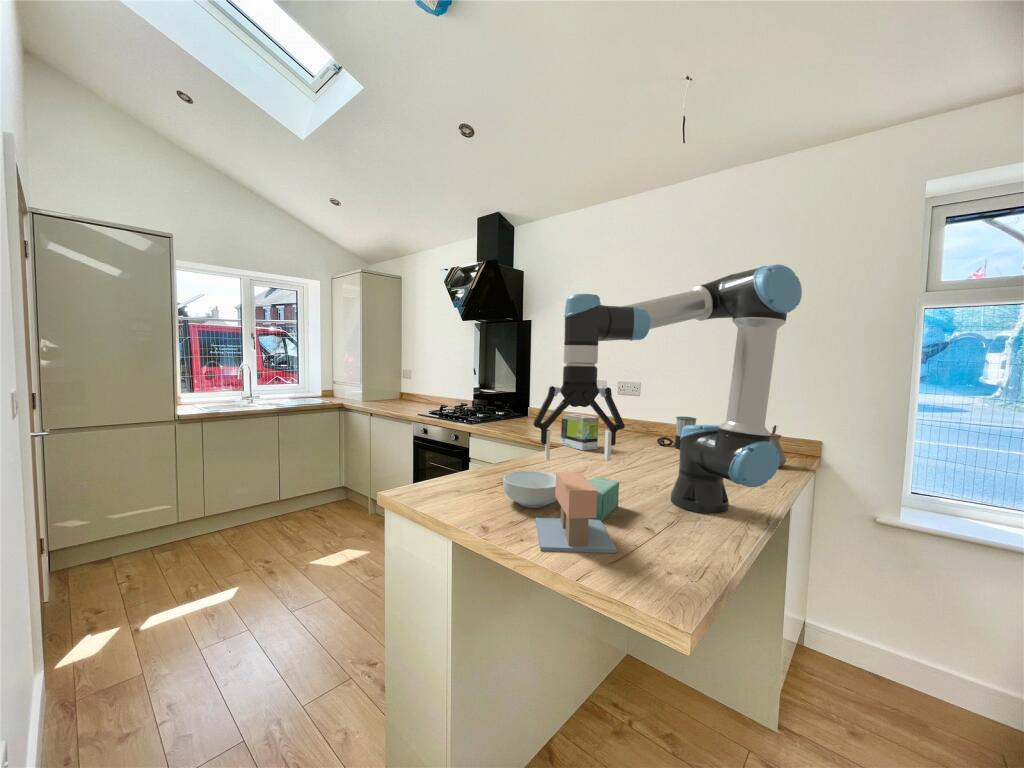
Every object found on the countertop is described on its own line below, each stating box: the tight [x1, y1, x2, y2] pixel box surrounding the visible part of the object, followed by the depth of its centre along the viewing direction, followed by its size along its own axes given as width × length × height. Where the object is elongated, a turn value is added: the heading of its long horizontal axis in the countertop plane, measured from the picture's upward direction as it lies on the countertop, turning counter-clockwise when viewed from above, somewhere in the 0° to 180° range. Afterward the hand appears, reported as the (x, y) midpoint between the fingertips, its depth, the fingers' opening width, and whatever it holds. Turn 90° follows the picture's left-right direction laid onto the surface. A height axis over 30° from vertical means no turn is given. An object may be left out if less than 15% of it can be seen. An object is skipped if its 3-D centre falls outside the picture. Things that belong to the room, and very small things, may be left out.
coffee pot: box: [770, 424, 787, 469], centre depth 174 cm, size 21×12×15 cm, turn 143°
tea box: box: [560, 413, 600, 451], centre depth 194 cm, size 15×10×15 cm
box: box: [588, 476, 620, 522], centre depth 112 cm, size 7×14×8 cm, turn 148°
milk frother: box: [656, 416, 697, 450], centre depth 202 cm, size 14×16×15 cm
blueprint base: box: [535, 506, 618, 554], centre depth 95 cm, size 16×16×7 cm
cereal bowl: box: [502, 470, 558, 509], centre depth 116 cm, size 17×17×7 cm
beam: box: [555, 471, 598, 519], centre depth 95 cm, size 6×14×6 cm, turn 6°
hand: (577, 459), depth 94 cm, fingers open, 13 cm apart
